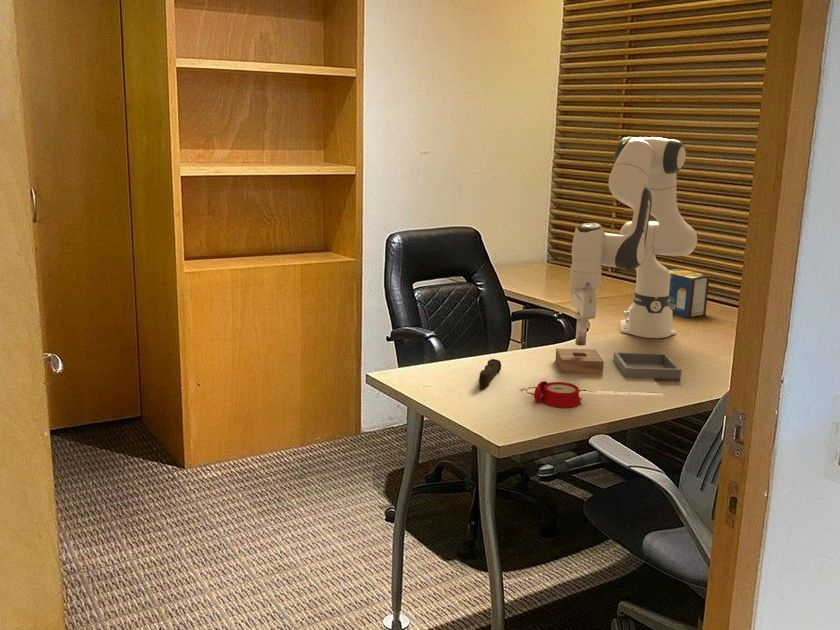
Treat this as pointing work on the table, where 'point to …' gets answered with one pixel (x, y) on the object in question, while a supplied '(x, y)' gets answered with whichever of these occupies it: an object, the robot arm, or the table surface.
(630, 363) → the tray
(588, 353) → the block
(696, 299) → the protein box
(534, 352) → the table surface
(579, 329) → the pin
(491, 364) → the hand tool
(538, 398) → the alarm clock
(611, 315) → the table surface
